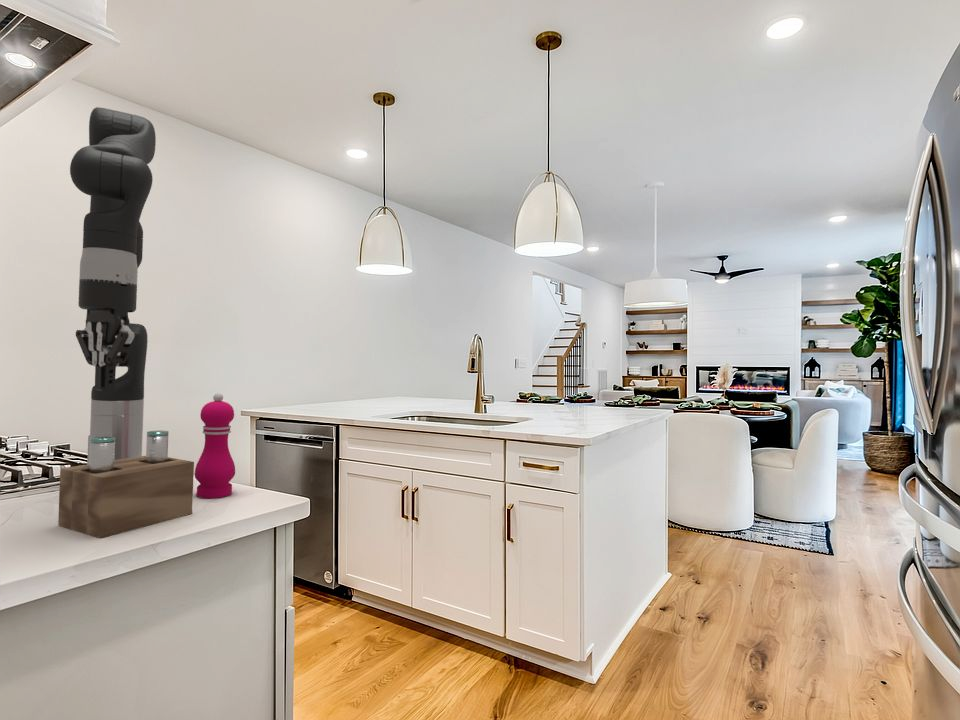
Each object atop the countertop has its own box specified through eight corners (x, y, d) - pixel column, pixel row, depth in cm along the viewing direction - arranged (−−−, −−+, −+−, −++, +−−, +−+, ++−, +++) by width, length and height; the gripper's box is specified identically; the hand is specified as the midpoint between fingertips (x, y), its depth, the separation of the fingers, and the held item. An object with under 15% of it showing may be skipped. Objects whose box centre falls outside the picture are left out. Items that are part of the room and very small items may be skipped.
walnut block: (58, 525, 85) (60, 468, 85) (151, 503, 99) (152, 454, 99) (100, 538, 80) (102, 477, 80) (192, 513, 94) (194, 461, 94)
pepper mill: (204, 501, 102) (208, 395, 102) (186, 494, 106) (190, 392, 106) (241, 494, 107) (245, 394, 107) (223, 488, 112) (226, 391, 112)
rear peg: (141, 478, 93) (142, 431, 93) (158, 475, 96) (160, 430, 96) (153, 481, 91) (154, 433, 91) (170, 477, 94) (172, 431, 94)
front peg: (84, 489, 85) (85, 438, 85) (105, 485, 88) (107, 435, 88) (96, 492, 83) (98, 440, 83) (117, 487, 86) (119, 437, 86)
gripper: (57, 278, 85) (53, 388, 85) (109, 275, 79) (105, 394, 79) (108, 284, 92) (104, 387, 92) (159, 283, 86) (155, 392, 86)
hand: (104, 390), depth 85 cm, fingers closed
